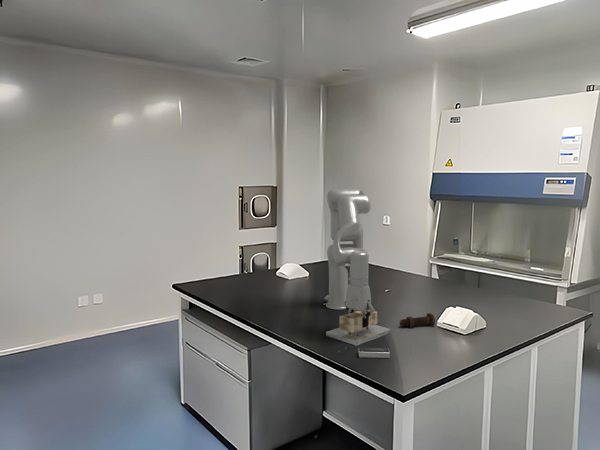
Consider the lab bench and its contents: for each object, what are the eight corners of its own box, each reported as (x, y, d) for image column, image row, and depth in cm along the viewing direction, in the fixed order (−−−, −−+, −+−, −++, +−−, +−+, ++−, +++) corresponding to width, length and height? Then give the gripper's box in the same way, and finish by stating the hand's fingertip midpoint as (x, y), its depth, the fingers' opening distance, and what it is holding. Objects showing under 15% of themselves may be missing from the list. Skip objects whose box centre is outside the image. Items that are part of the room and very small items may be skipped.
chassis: (326, 335, 187) (326, 324, 186) (361, 323, 201) (361, 313, 201) (355, 345, 175) (355, 334, 174) (390, 332, 190) (391, 322, 189)
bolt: (399, 331, 197) (431, 327, 201) (404, 329, 193) (436, 324, 196) (396, 318, 200) (427, 314, 203) (401, 315, 195) (432, 311, 198)
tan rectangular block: (339, 328, 185) (339, 316, 184) (365, 320, 196) (365, 308, 195) (351, 332, 180) (351, 320, 180) (377, 323, 191) (377, 312, 190)
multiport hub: (389, 359, 163) (390, 352, 163) (358, 358, 164) (358, 351, 164) (388, 354, 167) (388, 348, 167) (358, 353, 168) (358, 347, 168)
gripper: (337, 279, 190) (337, 321, 192) (369, 287, 177) (369, 332, 179) (349, 277, 195) (349, 318, 197) (381, 283, 182) (381, 327, 184)
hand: (358, 324), depth 188 cm, fingers closed on tan rectangular block, 6 cm apart
